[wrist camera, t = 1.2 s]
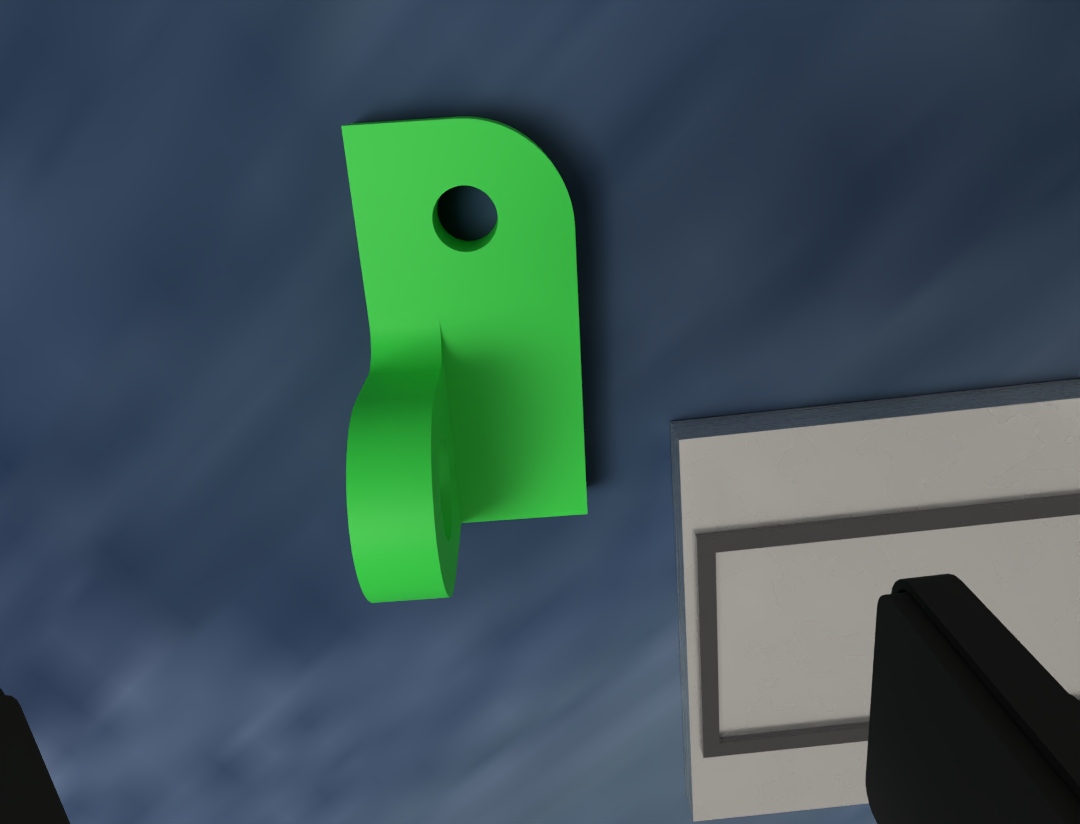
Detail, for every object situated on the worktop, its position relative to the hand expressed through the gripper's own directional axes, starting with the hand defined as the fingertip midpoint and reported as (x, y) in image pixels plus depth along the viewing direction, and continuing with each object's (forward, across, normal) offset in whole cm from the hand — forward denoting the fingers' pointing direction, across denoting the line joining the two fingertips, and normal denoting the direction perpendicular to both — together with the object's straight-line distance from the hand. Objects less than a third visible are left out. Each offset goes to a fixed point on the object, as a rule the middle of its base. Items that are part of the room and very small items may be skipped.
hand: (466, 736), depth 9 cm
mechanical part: (+18, 0, 0) cm, 18 cm away
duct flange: (+17, -14, +12) cm, 25 cm away
